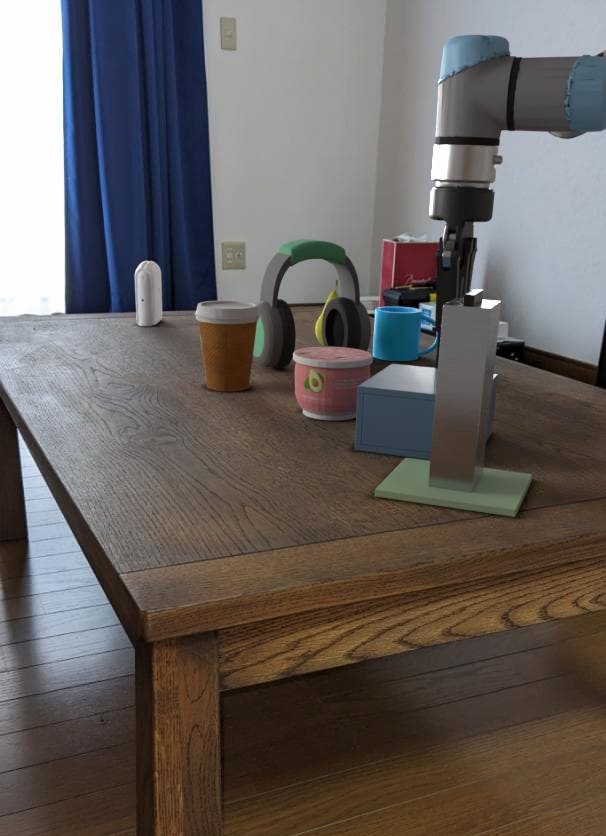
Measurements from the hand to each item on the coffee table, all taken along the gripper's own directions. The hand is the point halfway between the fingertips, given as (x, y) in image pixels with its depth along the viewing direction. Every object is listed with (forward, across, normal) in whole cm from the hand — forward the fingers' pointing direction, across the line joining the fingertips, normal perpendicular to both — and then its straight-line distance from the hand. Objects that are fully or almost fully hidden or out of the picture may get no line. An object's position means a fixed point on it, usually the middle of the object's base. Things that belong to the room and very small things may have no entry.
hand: (445, 382), depth 115 cm
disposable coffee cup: (+6, +7, +34) cm, 35 cm away
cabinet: (+5, -9, 0) cm, 11 cm away
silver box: (+5, -25, -7) cm, 27 cm away
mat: (+5, -25, -7) cm, 27 cm away
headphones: (+6, +28, +29) cm, 40 cm away
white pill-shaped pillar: (+6, +54, +74) cm, 92 cm away
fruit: (+6, +45, +31) cm, 55 cm away
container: (+6, -1, +15) cm, 16 cm away
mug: (+6, +43, +16) cm, 46 cm away
